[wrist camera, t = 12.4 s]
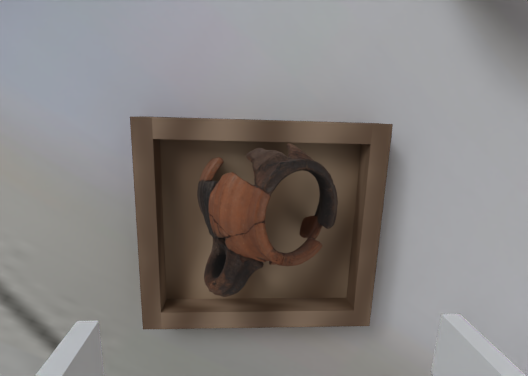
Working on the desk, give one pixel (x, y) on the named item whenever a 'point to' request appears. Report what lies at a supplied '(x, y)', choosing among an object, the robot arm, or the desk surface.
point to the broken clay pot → (256, 217)
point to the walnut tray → (277, 222)
